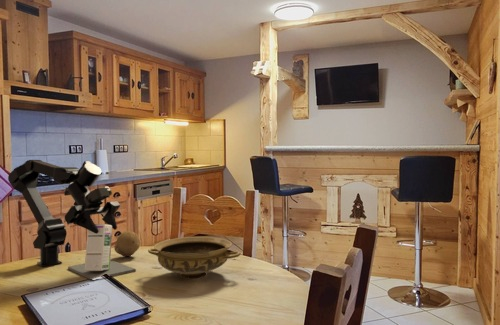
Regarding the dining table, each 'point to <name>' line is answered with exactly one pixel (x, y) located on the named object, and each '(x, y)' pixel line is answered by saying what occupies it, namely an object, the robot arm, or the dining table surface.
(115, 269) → the rubber mat
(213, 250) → the ceramic bowl
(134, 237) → the natural sponge
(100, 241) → the syrup box
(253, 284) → the dining table surface
